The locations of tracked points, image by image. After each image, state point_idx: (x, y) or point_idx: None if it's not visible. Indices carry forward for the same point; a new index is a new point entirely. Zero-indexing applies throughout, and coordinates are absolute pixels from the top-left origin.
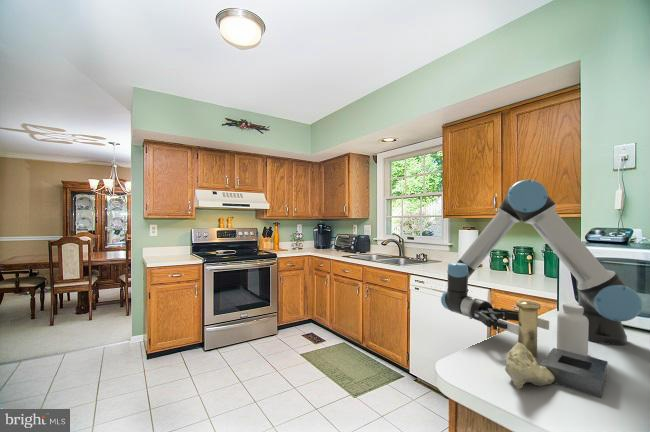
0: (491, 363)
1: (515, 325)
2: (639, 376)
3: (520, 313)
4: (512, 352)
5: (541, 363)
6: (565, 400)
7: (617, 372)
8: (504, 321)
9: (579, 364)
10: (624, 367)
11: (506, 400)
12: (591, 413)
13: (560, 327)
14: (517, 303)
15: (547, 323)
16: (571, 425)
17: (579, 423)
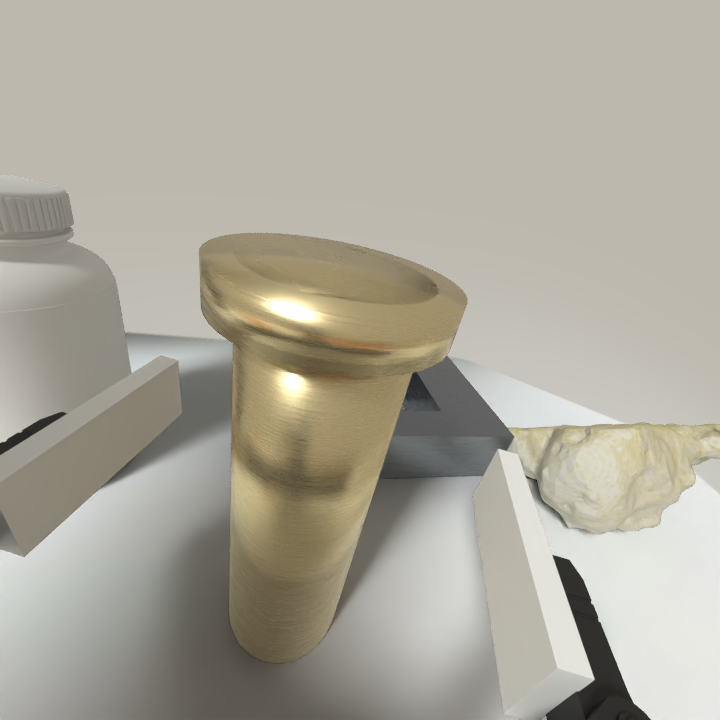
0: (626, 677)
1: (519, 471)
2: (214, 343)
3: (398, 410)
4: (672, 457)
5: (511, 435)
6: (524, 422)
7: (224, 365)
8: (555, 574)
9: None
10: (157, 355)
11: (692, 497)
12: (513, 394)
13: (71, 369)
14: (454, 325)
15: (176, 376)
16: (586, 409)
17: (565, 403)
